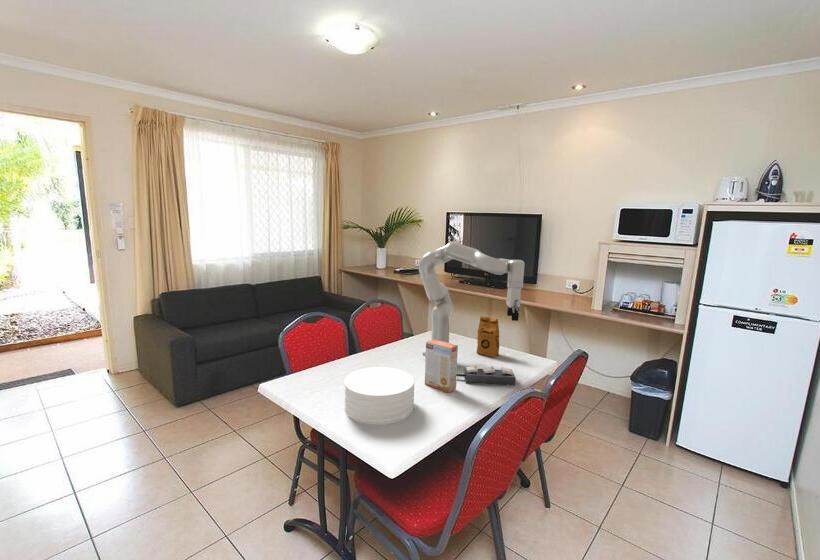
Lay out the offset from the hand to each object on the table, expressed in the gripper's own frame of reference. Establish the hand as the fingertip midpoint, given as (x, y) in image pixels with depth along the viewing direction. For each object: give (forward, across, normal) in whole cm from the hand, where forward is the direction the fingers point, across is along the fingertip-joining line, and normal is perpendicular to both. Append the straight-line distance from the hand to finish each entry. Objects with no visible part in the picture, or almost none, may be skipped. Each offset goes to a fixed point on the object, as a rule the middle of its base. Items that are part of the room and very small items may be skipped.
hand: (512, 318), depth 194 cm
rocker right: (+24, +14, -5) cm, 28 cm away
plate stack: (+29, +44, -62) cm, 81 cm away
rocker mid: (+24, +14, -13) cm, 30 cm away
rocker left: (+24, +14, -21) cm, 34 cm away
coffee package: (+28, -24, -7) cm, 37 cm away
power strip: (+28, +14, -16) cm, 35 cm away
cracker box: (+28, +23, -36) cm, 52 cm away
